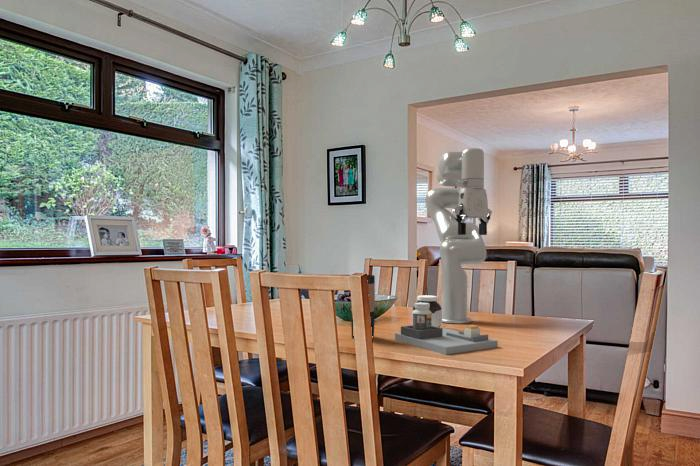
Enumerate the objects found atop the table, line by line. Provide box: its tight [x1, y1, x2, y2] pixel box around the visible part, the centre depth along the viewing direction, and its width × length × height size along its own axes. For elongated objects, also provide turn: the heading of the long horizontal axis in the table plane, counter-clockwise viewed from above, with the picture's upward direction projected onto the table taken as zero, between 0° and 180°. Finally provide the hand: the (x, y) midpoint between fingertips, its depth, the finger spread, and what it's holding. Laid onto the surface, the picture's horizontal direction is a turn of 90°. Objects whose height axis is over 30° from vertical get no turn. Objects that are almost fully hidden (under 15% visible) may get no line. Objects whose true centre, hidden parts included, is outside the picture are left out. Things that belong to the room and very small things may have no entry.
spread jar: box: [411, 294, 443, 328], centre depth 183 cm, size 12×11×12 cm
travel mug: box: [350, 274, 376, 339], centre depth 169 cm, size 8×8×20 cm
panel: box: [394, 324, 498, 355], centre depth 161 cm, size 24×20×4 cm
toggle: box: [463, 324, 481, 338], centre depth 158 cm, size 3×4×4 cm
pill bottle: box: [412, 302, 432, 330], centre depth 163 cm, size 6×6×10 cm
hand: (472, 234), depth 180 cm, fingers open, 9 cm apart
